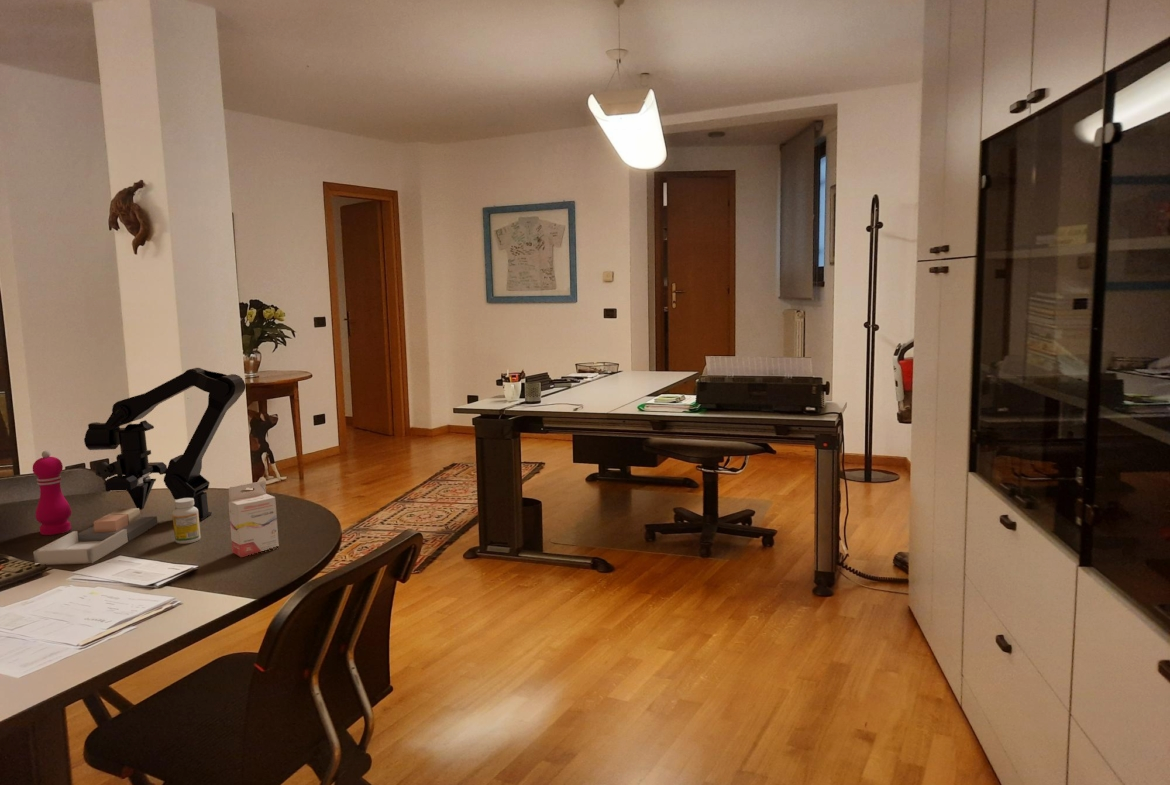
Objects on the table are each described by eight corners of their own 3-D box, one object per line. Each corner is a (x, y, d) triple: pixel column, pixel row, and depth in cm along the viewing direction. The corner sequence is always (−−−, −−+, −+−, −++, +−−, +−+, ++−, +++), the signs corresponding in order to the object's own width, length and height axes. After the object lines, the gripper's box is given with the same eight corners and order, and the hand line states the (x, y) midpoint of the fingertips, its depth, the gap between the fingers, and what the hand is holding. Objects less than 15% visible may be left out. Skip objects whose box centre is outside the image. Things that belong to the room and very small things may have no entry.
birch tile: (140, 518, 195) (139, 508, 195) (129, 524, 190) (128, 514, 190) (119, 518, 195) (118, 508, 195) (108, 524, 190) (107, 514, 190)
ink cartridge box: (241, 558, 170) (234, 491, 168) (232, 553, 173) (225, 487, 171) (280, 548, 176) (274, 483, 174) (270, 543, 179) (265, 479, 177)
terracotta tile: (128, 524, 190) (127, 514, 189) (116, 531, 185) (115, 520, 184) (107, 525, 190) (105, 515, 189) (94, 532, 185) (93, 521, 184)
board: (157, 524, 196) (156, 516, 196) (129, 541, 184) (128, 532, 183) (108, 525, 196) (107, 518, 196) (76, 543, 183) (75, 534, 183)
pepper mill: (55, 536, 189) (45, 454, 186) (30, 535, 190) (19, 453, 187) (80, 527, 196) (70, 447, 193) (55, 526, 197) (45, 447, 194)
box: (127, 541, 183) (126, 529, 183) (92, 563, 169) (90, 549, 169) (75, 543, 183) (73, 531, 182) (35, 565, 169) (33, 551, 169)
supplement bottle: (194, 543, 180) (190, 502, 179) (170, 544, 180) (166, 503, 179) (205, 536, 186) (201, 496, 184) (181, 537, 185) (177, 497, 184)
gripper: (121, 442, 207) (128, 500, 209) (78, 458, 188) (85, 521, 190) (165, 440, 207) (171, 499, 209) (125, 456, 189) (132, 520, 191)
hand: (140, 509), depth 200 cm, fingers closed
